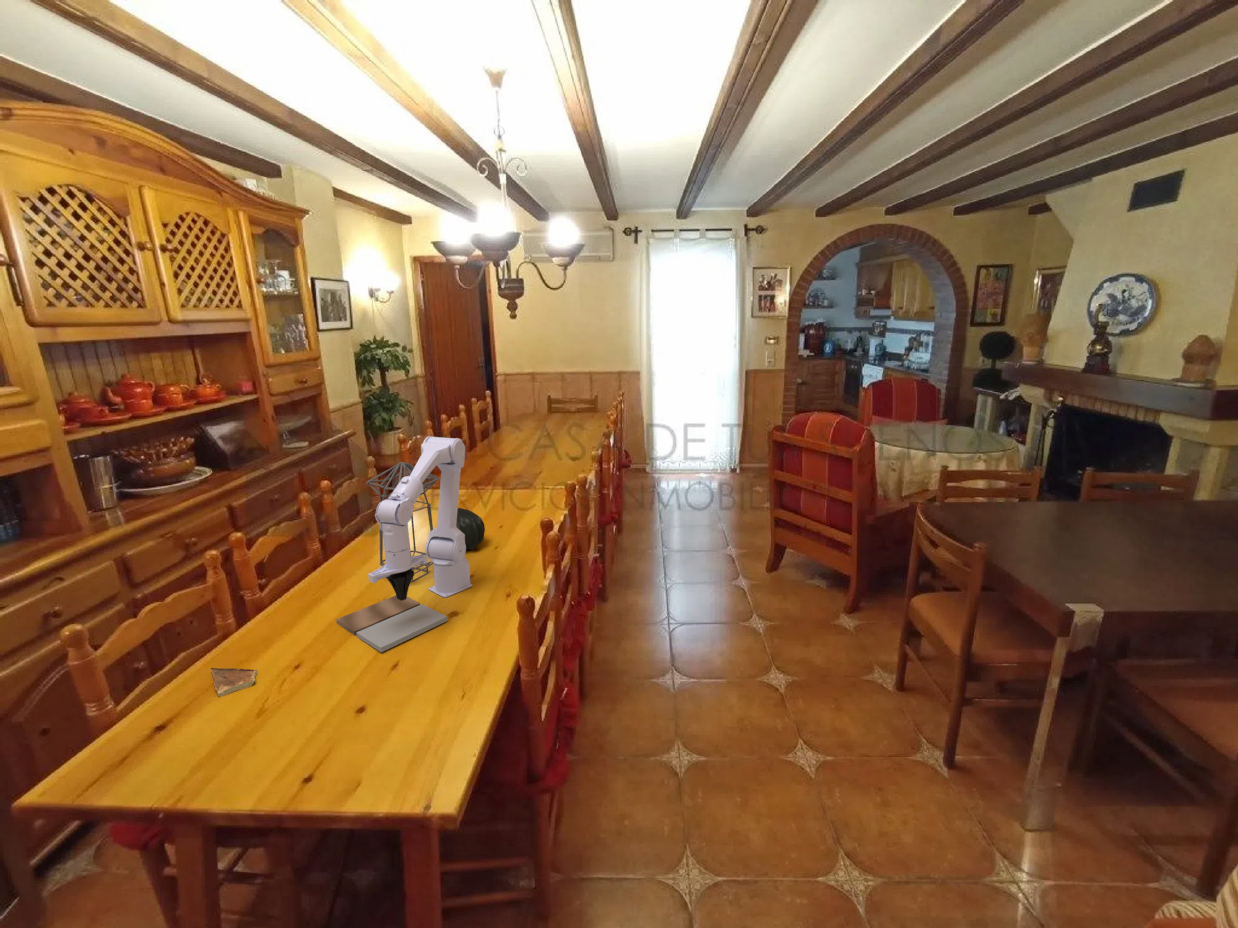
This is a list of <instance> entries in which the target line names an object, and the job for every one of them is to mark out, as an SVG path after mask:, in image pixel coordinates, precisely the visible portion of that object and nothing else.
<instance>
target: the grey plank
mask: <svg viewBox="0 0 1238 928" xmlns="http://www.w3.org/2000/svg"><path fill="white" fill-rule="evenodd" d="M446 622H448V616H447V615H445V614H443V613H441V612H439V611H437V610H435V609H433V608H431V607H429V606H427V605H424V604H423V603H422V604H421V603H420V605H419V606H417V607H414V608H412V609H410V610H407V611H405V612H403V613H400V614H398V615H396V616H393V617H391V618H389V619H387V620H384V621H382V622H380V623H377V624H375V625H373V626H370V627H368V628H366V629H363V630H361V631H359V632H356V634H357V635H356V638H357V639H359V640H361V641H362V642H365V644H367V645H368V646H370V647H372V648H374V649H375V650H377V651H378V652H379V653H383V652H385V651H387V650H389V649H392V648H393V647H396V646H398V645H400V644H402V643H404V642H407V641H408V640H410V639H412V638H414V637H417V636H419V635H421V634H423V633H425V632H427V631H429V630H431V629H433V628H436V627H438V626H439V625H443V624H444V623H446Z"/></svg>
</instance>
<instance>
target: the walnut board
mask: <svg viewBox="0 0 1238 928" xmlns="http://www.w3.org/2000/svg"><path fill="white" fill-rule="evenodd" d="M419 605H421V603H420V602H419V601H416V600H415V599H413V598H411V597H409V596H407V598H406V599H405V600H403V601H401V600H399V599H397V596H396V594H395V595H393V596H391V597H388V598H386V599H383V600H380V601H378V602H376V603H374V604H371V605H369V606H366V607H363V608H360V609H358V610H357V611H354V612H351V613H349V614H346V615H344V616H341V617H339V618H337V619H335V621H336V622H335V623H336V624H337V625H338V626H340V627H341V628H343V629H344V630H346V631H347V632H348V633H350V634H351V635H353V636H356V637H357V634H356V632H359V631H361V630H363V629H366V628H368V627H370V626H373V625H375V624H377V623H380V622H382V621H384V620H387V619H389V618H391V617H393V616H396V615H398V614H400V613H403V612H405V611H407V610H410V609H412V608H414V607H417V606H419Z"/></svg>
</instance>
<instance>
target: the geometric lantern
mask: <svg viewBox="0 0 1238 928" xmlns="http://www.w3.org/2000/svg"><path fill="white" fill-rule="evenodd" d="M414 467H415V465H413V464H411V463H409V462H407V461H405V462H404V461H399V462H398V463H397V464H394V465H393V466H392V467H389V469H387V470H385V471H382V472H381V473H379V474H378V475H376V476H374V477H371V478H370V479H368V480H367V481H366V483H365V485H368V486H369V487H370V488H371V489H372V490H373V491H374V492H375V493H376V494H377V495H379V500H378V501H379V503H380V502H382V501H383V500H385V498H386V499H388V498H389V497H390V495H391V494H392V492H390V493H389V494H387V490H389V491H391V490H392V491H394V489H395V488H396V487H397V485H398V484H399V482H400V481H401V479H402V476H403V477H406V476H410V474H411V472H412V471H413V469H414ZM388 472H390V473H388ZM398 472H399V473H398ZM386 473H388V474H387V476H386V477H385V478H384V479H378V478H380V477H381V476H383V475H384V474H385V475H386ZM396 478H397V480H396V481H395V479H396ZM432 479H433V480H432ZM429 480H430V481H429ZM386 481H388V482H387V483H386ZM438 481H441V477H438V476H437V475H435V474H432V473H430V474H429V475H428V476H427V477H426V479H425V480H424V481H423V482H425V483H422V485H423V491H422V492H421V494H420V496H422V495H423V497H424V499H425V502H424V501H419V500H416V502H415V503H420V504H425V505H426V506H423V507H420V508H418V509H415V510H414V509H413V512H412V517H411V520H410V521H411V529H412V533H411V534H412V543H413V544H412V545H413V550H410V556H411V557H413V556H415V553H416V554H419V555H421V554H423V555H426V552H423V551H418V550H417V549H416V538H415V526H414V514H413V513H414V512H418V511H421V510H424V509H426V510H427V516H428V523H429V531H430V532H431V531H432V530H433V529H434V527H433V526H434V524H433V517H432V508H431V507H432V506H431V505H432V503H429V501H428V498H427V497H428V496H427V493H426V492H427V491H428V490H429V489H431V488H432V487H433V486H434V485H435V484H436V483H437V482H438ZM391 482H392V485H391V486H390V484H391ZM394 482H395V483H394ZM379 483H380V484H379ZM374 486H376V487H377V489H376V488H375V487H374ZM381 489H383V493H382V494H381ZM379 503H378V504H379ZM378 525H379V524H378ZM378 528H379V529H378V530H379V531H378V532H379V565H380V567H382V566H384V565H385V564H386V563H385V562H386V561H385V559H383V557H384V556H383V555H384V554H383V549H384V541H383V531H382V530H381V529H380V525H379V526H378ZM409 544H410V545H411V543H410V541H409ZM426 556H427V555H426ZM424 566H425V567H424ZM431 566H433V562H431V560H430V561H427V563H426V564H420V565H417V566H414V567H412V568H411V570H413V571H414V575H415V574H418V573H420V572H425V573H424V574H422V575H420V576H418V577H416V578H415V579H414V577H413V578H412V580H411V582H410V584H411V583H414V582H415V581H417V580H419V579H420V578H422V577H425V576H427V575H429V573H430V572H429V568H430V567H431ZM415 570H417V571H415Z"/></svg>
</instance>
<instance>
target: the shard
mask: <svg viewBox="0 0 1238 928" xmlns="http://www.w3.org/2000/svg"><path fill="white" fill-rule="evenodd" d="M210 671H211V673H212V674H211V675H212V680H213V685H214V689H215V691H216V693H217V695H218V697H223V696H225V695H226V696H227V695H229V694H231V693H235V692H236V691H240V690H243V689H247V688H250V687H252V686H253V685H254V684H255V682H256V676H257V675H258V670H257V669H246V668H245V669H244V668H229V667H228V668H217V667H211V668H210Z"/></svg>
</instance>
